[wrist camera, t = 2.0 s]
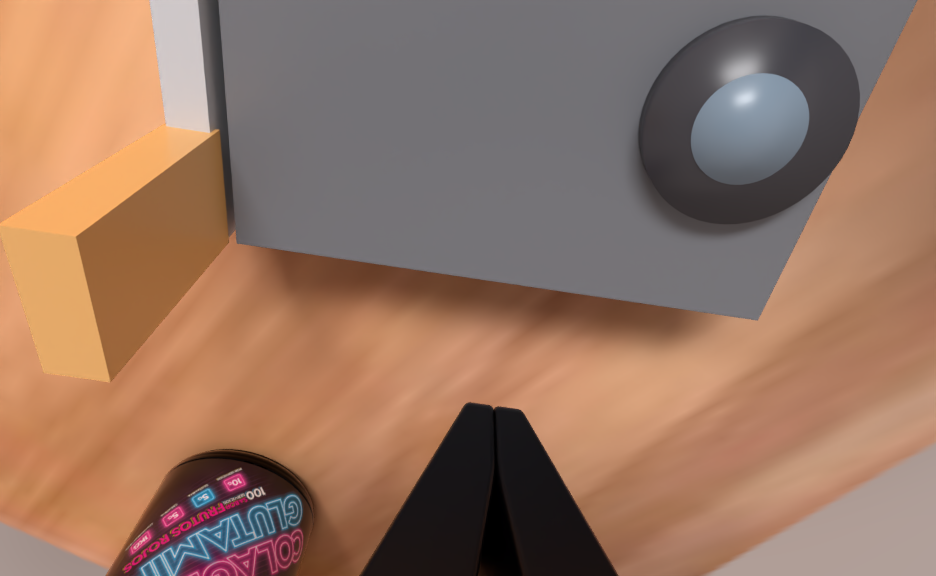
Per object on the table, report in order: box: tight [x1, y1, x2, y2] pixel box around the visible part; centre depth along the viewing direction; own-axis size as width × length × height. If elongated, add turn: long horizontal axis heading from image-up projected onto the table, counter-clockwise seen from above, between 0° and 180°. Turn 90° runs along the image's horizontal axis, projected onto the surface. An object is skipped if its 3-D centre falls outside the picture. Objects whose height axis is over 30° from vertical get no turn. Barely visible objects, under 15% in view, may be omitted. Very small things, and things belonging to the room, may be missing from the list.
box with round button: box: [218, 0, 917, 320], centre depth 14 cm, size 14×10×4 cm
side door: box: [0, 0, 236, 382], centre depth 12 cm, size 1×11×9 cm, turn 172°
